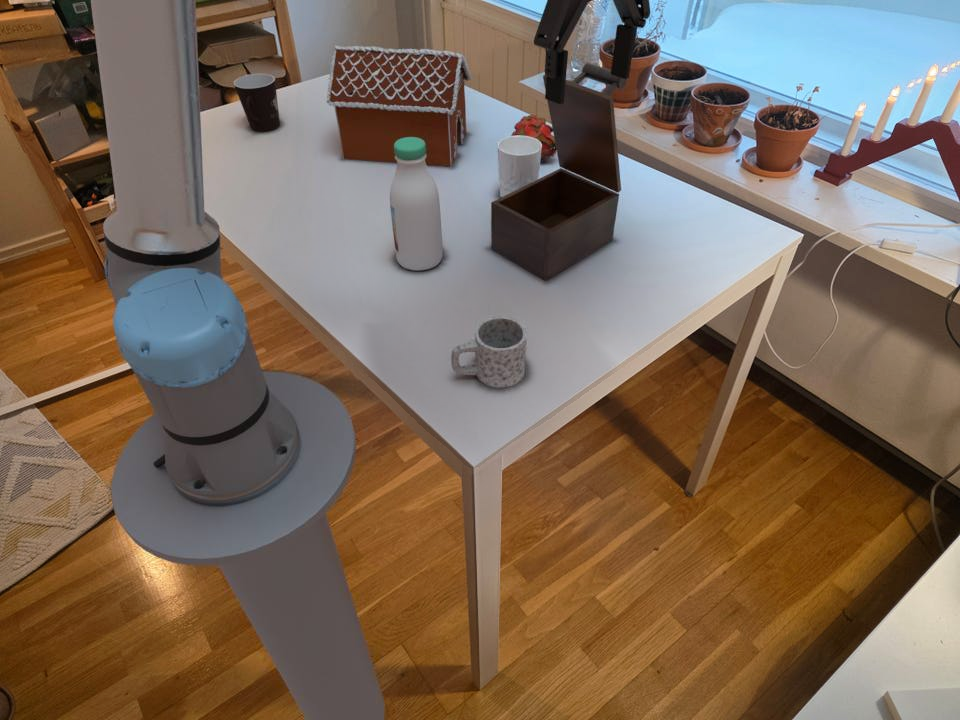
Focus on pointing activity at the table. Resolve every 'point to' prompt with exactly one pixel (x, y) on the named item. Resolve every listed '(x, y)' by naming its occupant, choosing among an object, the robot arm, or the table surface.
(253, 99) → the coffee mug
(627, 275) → the table surface
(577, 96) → the lid
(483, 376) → the mug
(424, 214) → the milk bottle
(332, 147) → the table surface
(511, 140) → the white cup
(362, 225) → the table surface
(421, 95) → the gingerbread house
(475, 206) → the table surface
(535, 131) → the dragon fruit
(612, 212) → the chest
